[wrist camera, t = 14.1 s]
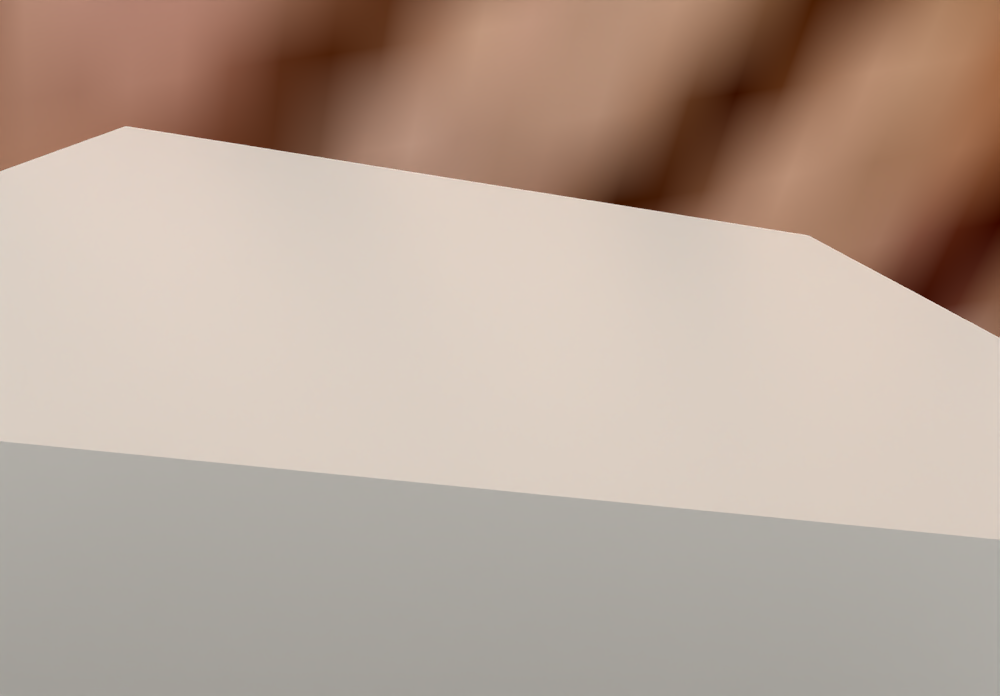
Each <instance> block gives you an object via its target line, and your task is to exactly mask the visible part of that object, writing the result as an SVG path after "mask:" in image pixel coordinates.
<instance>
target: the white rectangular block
mask: <svg viewBox="0 0 1000 696" xmlns="http://www.w3.org/2000/svg"><path fill="white" fill-rule="evenodd" d="M0 696H1000V338H999V337H997V336H995V335H993V334H991V333H989V332H988V331H986V330H984V329H982V328H980V327H978V326H976V325H975V324H973V323H971V322H969V321H967V320H965V319H963V318H961V317H960V316H958V315H956V314H954V313H952V312H950V311H948V310H947V309H945V308H943V307H941V306H939V305H937V304H935V303H933V302H932V301H930V300H928V299H926V298H924V297H922V296H920V295H919V294H917V293H915V292H913V291H911V290H909V289H907V288H906V287H904V286H902V285H900V284H898V283H896V282H894V281H892V280H891V279H889V278H887V277H885V276H883V275H881V274H879V273H878V272H876V271H874V270H872V269H870V268H868V267H866V266H864V265H863V264H861V263H859V262H857V261H855V260H853V259H851V258H850V257H848V256H846V255H844V254H842V253H840V252H838V251H836V250H835V249H833V248H831V247H829V246H827V245H825V244H823V243H822V242H820V241H818V240H816V239H814V238H812V237H810V236H809V235H803V234H797V233H790V232H784V231H778V230H772V229H765V228H759V227H753V226H747V225H740V224H734V223H728V222H722V221H715V220H709V219H703V218H697V217H690V216H684V215H678V214H672V213H666V212H659V211H653V210H647V209H641V208H634V207H628V206H622V205H616V204H609V203H603V202H597V201H591V200H584V199H578V198H572V197H566V196H559V195H553V194H547V193H541V192H534V191H528V190H522V189H516V188H509V187H503V186H497V185H491V184H484V183H478V182H472V181H466V180H459V179H453V178H447V177H441V176H434V175H428V174H422V173H416V172H409V171H403V170H397V169H391V168H384V167H378V166H372V165H366V164H359V163H353V162H347V161H341V160H335V159H328V158H322V157H316V156H310V155H303V154H297V153H291V152H285V151H278V150H272V149H266V148H260V147H253V146H247V145H241V144H235V143H228V142H222V141H216V140H210V139H203V138H197V137H191V136H185V135H178V134H172V133H166V132H160V131H153V130H147V129H141V128H135V127H128V126H125V127H122V128H119V129H116V130H114V131H111V132H108V133H105V134H102V135H100V136H97V137H94V138H91V139H89V140H86V141H83V142H80V143H77V144H75V145H72V146H69V147H66V148H64V149H61V150H58V151H55V152H52V153H50V154H47V155H44V156H41V157H39V158H36V159H33V160H30V161H27V162H25V163H22V164H19V165H16V166H14V167H11V168H8V169H5V170H2V171H0Z"/></svg>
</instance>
